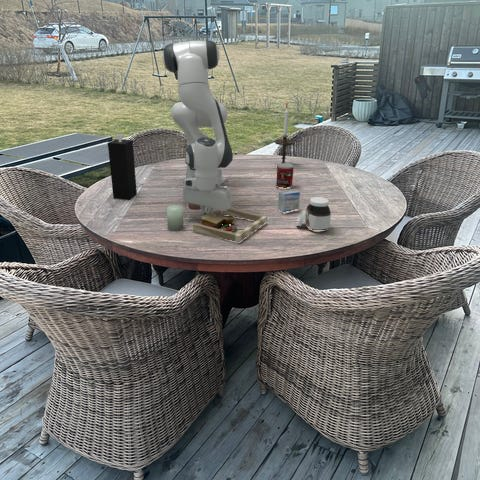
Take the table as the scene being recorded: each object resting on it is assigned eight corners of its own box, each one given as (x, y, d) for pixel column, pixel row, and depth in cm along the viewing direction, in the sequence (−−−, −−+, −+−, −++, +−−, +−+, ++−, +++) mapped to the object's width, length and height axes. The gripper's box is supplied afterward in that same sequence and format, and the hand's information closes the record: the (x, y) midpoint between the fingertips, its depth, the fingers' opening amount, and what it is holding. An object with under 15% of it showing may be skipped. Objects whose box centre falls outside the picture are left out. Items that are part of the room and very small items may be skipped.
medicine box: (282, 214, 183) (284, 194, 180) (277, 211, 187) (278, 191, 183) (298, 211, 187) (300, 192, 183) (292, 208, 190) (294, 188, 186)
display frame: (224, 213, 182) (224, 206, 181) (266, 223, 174) (267, 216, 172) (193, 232, 165) (192, 224, 164) (238, 243, 156) (239, 236, 155)
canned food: (274, 188, 214) (275, 166, 210) (279, 184, 221) (280, 162, 216) (289, 190, 212) (290, 168, 207) (293, 186, 218) (295, 164, 214)
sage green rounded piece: (174, 223, 172) (173, 203, 169) (186, 226, 169) (186, 206, 166) (164, 228, 167) (163, 208, 164) (177, 232, 165) (176, 211, 161)
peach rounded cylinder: (194, 204, 192) (193, 188, 189) (205, 206, 190) (205, 191, 187) (185, 208, 187) (185, 192, 185) (197, 211, 185) (197, 195, 182)
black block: (129, 200, 195) (124, 136, 183) (113, 199, 196) (106, 134, 184) (137, 194, 202) (132, 132, 190) (121, 193, 203) (115, 131, 191)
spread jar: (331, 233, 167) (335, 203, 162) (304, 236, 164) (306, 206, 159) (317, 221, 177) (320, 193, 172) (291, 223, 174) (293, 195, 169)
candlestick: (287, 170, 244) (291, 104, 229) (270, 167, 249) (273, 102, 234) (296, 166, 252) (301, 102, 237) (279, 163, 257) (283, 100, 243)
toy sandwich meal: (224, 238, 160) (224, 226, 158) (194, 230, 167) (194, 218, 165) (242, 227, 170) (243, 216, 168) (213, 220, 176) (213, 209, 174)
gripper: (234, 185, 165) (234, 219, 171) (189, 176, 174) (190, 209, 180) (225, 189, 160) (225, 225, 166) (179, 180, 169) (181, 214, 175)
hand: (206, 216), depth 173 cm, fingers closed
